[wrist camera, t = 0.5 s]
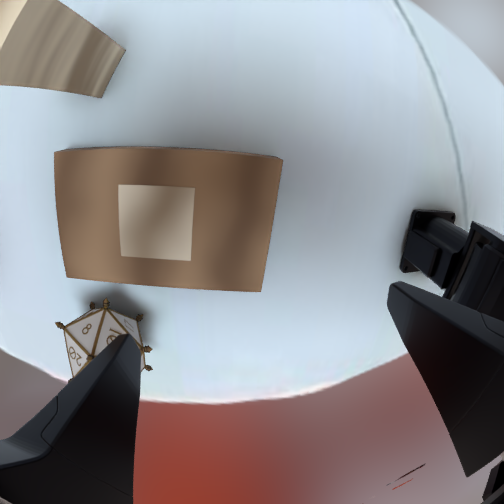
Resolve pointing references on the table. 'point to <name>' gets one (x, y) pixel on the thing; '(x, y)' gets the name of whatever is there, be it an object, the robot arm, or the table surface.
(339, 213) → the table surface
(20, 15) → the maple pillar
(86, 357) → the game die
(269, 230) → the walnut slab
